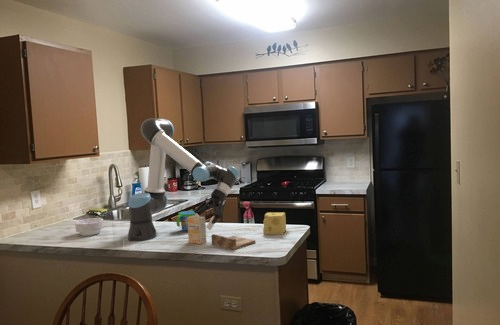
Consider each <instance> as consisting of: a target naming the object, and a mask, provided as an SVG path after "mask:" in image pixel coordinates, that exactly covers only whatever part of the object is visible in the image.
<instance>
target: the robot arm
mask: <svg viewBox="0 0 500 325" xmlns="http://www.w3.org/2000/svg"><path fill="white" fill-rule="evenodd" d="M140 133H141V135H142V137H143V138H144V139H145V141H146V142H148V143H149V144H150V154H149V166H148V178H147V186H146V187H145V188H144V191H143V192H139V193H135V194H132V195H130V196H129V198H128V204H127V205H128V213H129V224H130V225H129V229H128V232H127V239H128V240H129V241H132V242H133V241H135V242H136V241H146V240H151V239H154V238H156V237H157V235H158V234H157V230H156V227H155V225H154V223H153V215H154V214H157V213H160V212H162V211H163V210H165V209H166V207H167V205H168V202H169V200H168V199H169V198H168V196H167V194H166V190H165V188H164V178H165V167H166V156H167V155H168V156H169V157H170V158H172V159H173V160H174V161H175V162H176V163H178V164H179V165H181V166H182V167H183V169H186V171H188V172H189V173H190V174H192V178H193V180H194V181H196V182H198V183H199V182H200V183H202V182H206V181H208V180H212V179H213V180H215V181H217V184H216V185H215V187H214V189H213V190H212V192H211V194H210V199H209V198H207V197H206V198H205V199H204V200H203V202H202V203H201V204H199V205H198V207H196V208H195V209H194V210H193V211H194V212H195V215H194V216H201V215H202V214H203V213H205V212H207V211H208V210H210V209H213V213H214V214H213V216H212V217H211V218H210V220H209V221H208V223H207V224H206V229H208V230H209V231H211V230H212V228H213V227H214V225H215V224H216V222H218V220H219V219H222V218H223V215H224V209H225V206H226V201H225V200H226V198H227V196H228V195H229V193H230V192H231V189H232V188H233V186H234V185H235V183H236V182H237V180H238V178H239V176H240V171H239V170H238V169H237V168H236V167H234V166H231V165H229V166H227V168H225V167H222V166H219V165H217V164H215V163H213V162H211V161H205V162H204V163H203V162H201V161H200V159H197V158H196V157H195V156H194V155H192V154H191V153H190V152H189V151H188V150H186V149H185V148H184V147H182V146H181V145H180V144H178V143H177V142H176V141H175V140H173V139H172V137H173V136H174V134H175V127H174V125H173V123H172V122H171V121H170V120H168V119H165V118H155V117H154V118H152V117H151V118H147V119H145V120H144V121H143V122H142V123H141V125H140Z"/></svg>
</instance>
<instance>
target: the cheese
mask: <svg viewBox="0 0 500 325" xmlns="http://www.w3.org/2000/svg"><path fill="white" fill-rule="evenodd" d="M286 219H287V218H286V212H266V213H265V214H264V219H263V228H262V231H263V232H262V233H263V235H273V236H274V235H278V236H281V235H282V236H283V235H284V233H285V232H286V230H287V220H286Z"/></svg>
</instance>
